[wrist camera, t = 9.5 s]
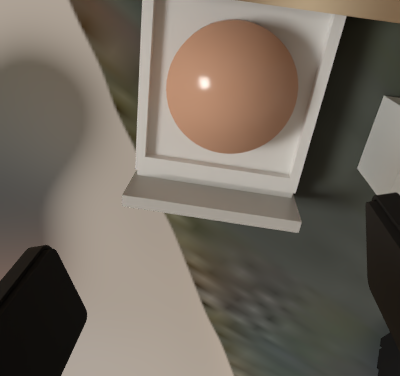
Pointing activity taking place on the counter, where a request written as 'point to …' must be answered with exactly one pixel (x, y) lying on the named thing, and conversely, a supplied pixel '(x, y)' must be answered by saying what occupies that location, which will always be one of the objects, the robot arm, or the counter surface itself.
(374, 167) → the block
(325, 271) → the counter surface
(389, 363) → the fabric swatch
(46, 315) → the robot arm
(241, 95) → the peach dome
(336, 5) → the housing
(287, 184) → the tray
